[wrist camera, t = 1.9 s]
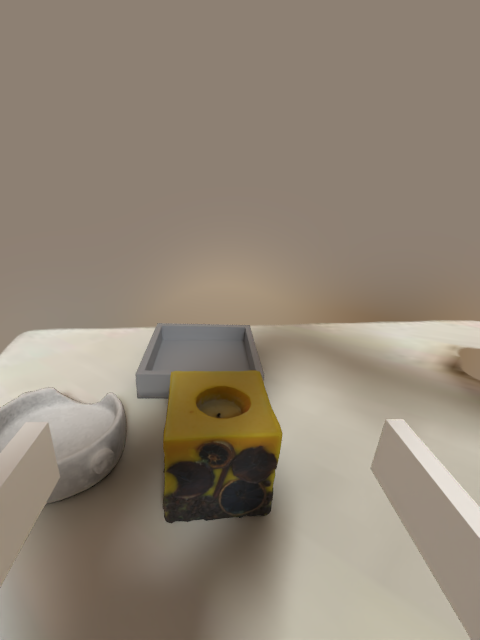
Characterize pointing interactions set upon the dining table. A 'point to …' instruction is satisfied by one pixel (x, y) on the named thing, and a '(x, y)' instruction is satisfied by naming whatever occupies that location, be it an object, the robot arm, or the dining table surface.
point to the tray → (194, 354)
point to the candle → (219, 446)
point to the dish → (71, 435)
